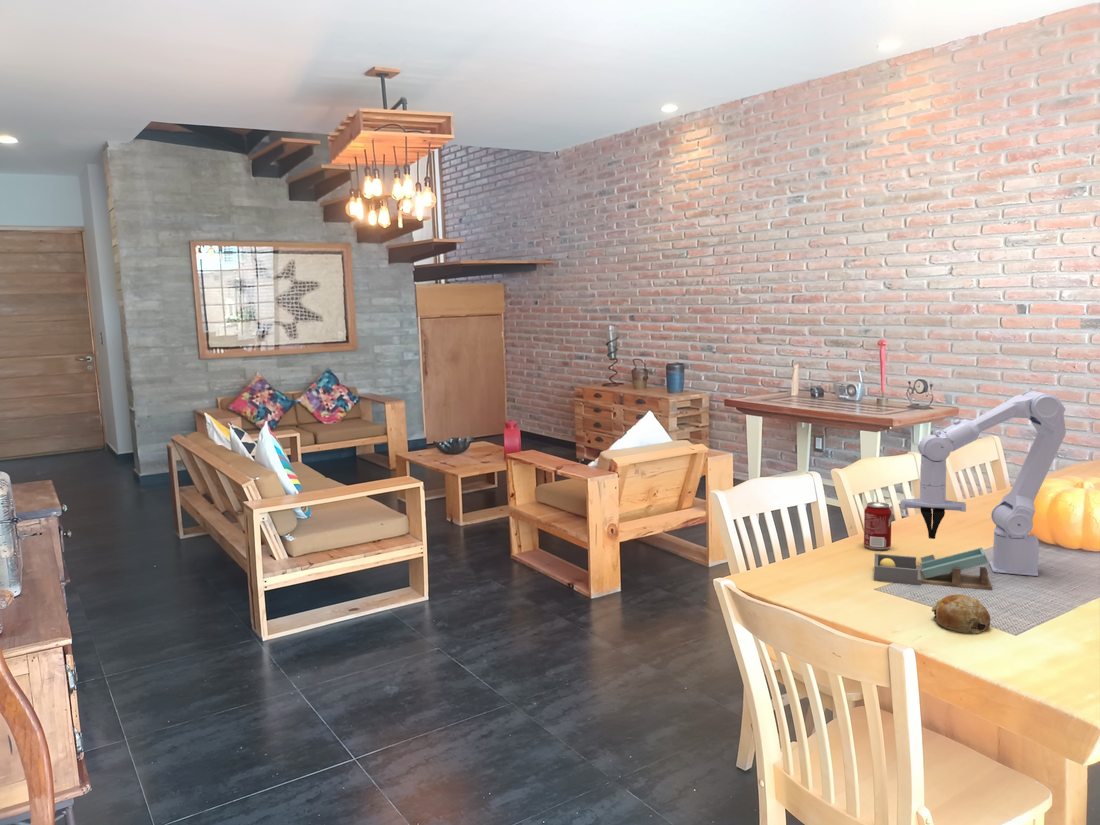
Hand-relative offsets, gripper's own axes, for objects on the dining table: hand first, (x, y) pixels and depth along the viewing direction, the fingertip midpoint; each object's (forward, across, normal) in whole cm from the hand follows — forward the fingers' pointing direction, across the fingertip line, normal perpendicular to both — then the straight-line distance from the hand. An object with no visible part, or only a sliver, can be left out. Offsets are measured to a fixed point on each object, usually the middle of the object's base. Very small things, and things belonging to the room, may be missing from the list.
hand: (931, 537), depth 195 cm
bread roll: (+8, -3, +37) cm, 38 cm away
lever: (+4, -5, +5) cm, 8 cm away
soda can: (+8, +12, -14) cm, 20 cm away
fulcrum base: (+8, -4, +10) cm, 13 cm away
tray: (+8, +8, +10) cm, 15 cm away
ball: (+5, +10, +10) cm, 15 cm away
